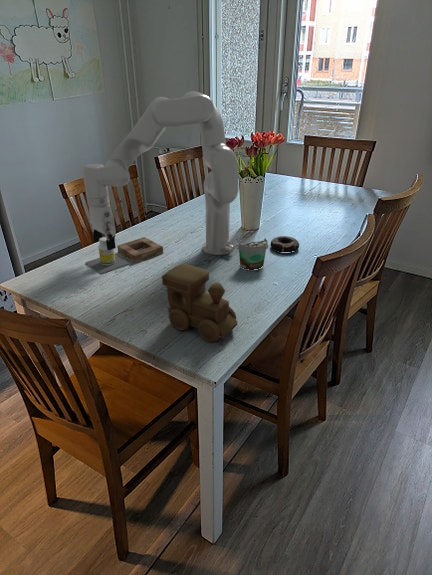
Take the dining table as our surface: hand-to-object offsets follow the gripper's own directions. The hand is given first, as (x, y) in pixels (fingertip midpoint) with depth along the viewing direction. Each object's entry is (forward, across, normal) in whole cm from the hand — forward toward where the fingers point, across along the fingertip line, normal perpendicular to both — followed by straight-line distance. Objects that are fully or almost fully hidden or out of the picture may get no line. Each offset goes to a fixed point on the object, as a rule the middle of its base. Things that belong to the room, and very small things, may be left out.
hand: (104, 245), depth 154 cm
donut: (+8, -36, -61) cm, 72 cm away
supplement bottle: (+7, 0, 0) cm, 8 cm away
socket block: (+8, 0, -15) cm, 17 cm away
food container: (+8, -40, -39) cm, 57 cm away
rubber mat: (+8, 0, 0) cm, 8 cm away
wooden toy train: (+8, -55, 0) cm, 56 cm away
